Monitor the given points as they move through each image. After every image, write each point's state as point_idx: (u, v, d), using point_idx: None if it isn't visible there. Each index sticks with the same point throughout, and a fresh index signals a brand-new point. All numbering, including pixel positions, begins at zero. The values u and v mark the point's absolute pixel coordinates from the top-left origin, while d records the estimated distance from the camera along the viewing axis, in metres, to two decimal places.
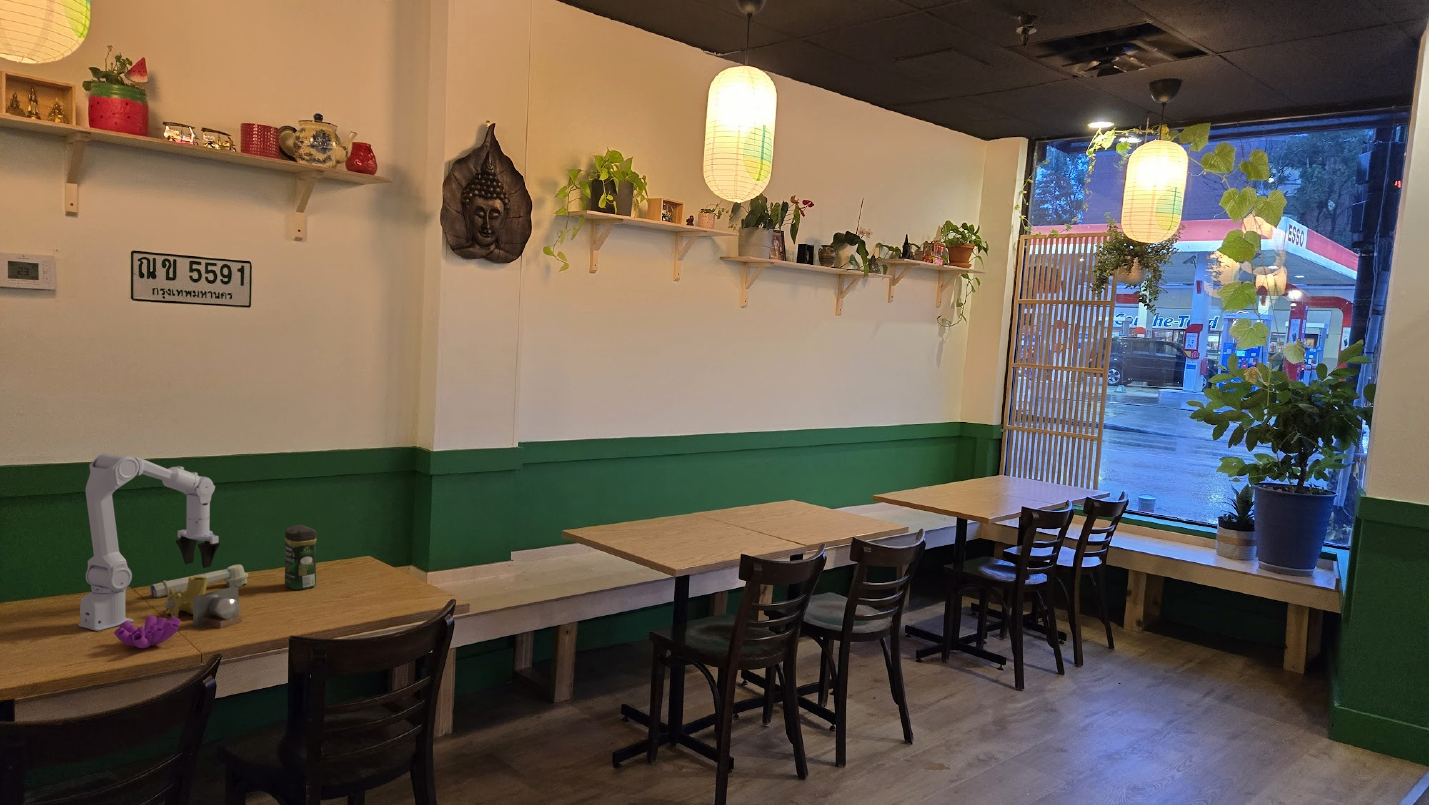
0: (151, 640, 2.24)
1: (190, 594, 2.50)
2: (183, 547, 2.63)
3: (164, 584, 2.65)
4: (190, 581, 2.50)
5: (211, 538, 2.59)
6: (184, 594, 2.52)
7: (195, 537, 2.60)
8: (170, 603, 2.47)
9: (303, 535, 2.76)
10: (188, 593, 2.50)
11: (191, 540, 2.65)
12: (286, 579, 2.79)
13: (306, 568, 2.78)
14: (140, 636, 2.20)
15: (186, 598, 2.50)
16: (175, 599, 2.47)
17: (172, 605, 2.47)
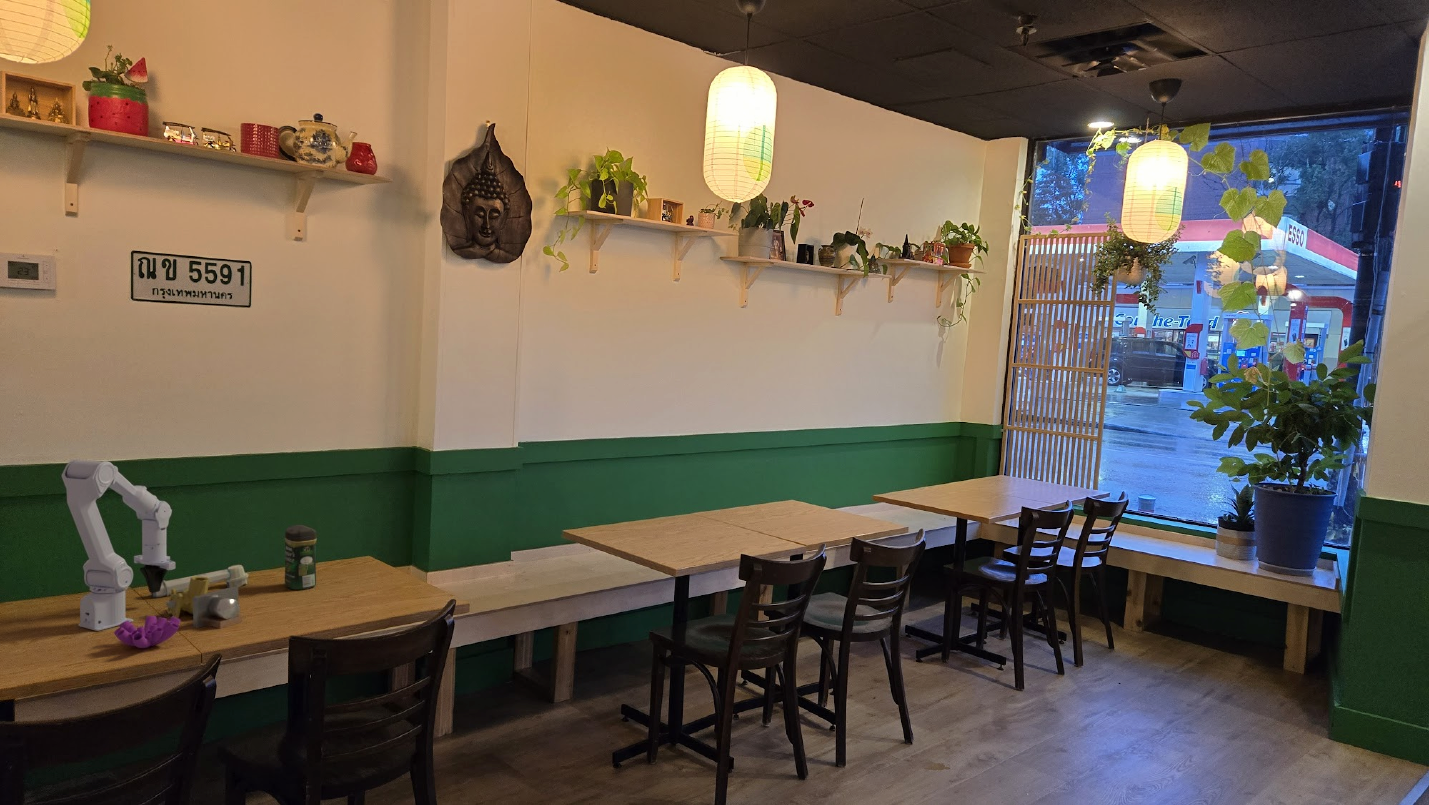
0: (151, 640, 2.24)
1: (191, 594, 2.50)
2: None
3: (163, 584, 2.65)
4: (191, 581, 2.50)
5: (167, 564, 2.51)
6: (186, 594, 2.52)
7: (151, 563, 2.52)
8: (171, 603, 2.47)
9: (303, 535, 2.76)
10: (190, 593, 2.50)
11: None
12: (286, 579, 2.79)
13: (306, 568, 2.78)
14: (140, 636, 2.20)
15: (187, 598, 2.50)
16: (176, 599, 2.47)
17: (173, 605, 2.47)
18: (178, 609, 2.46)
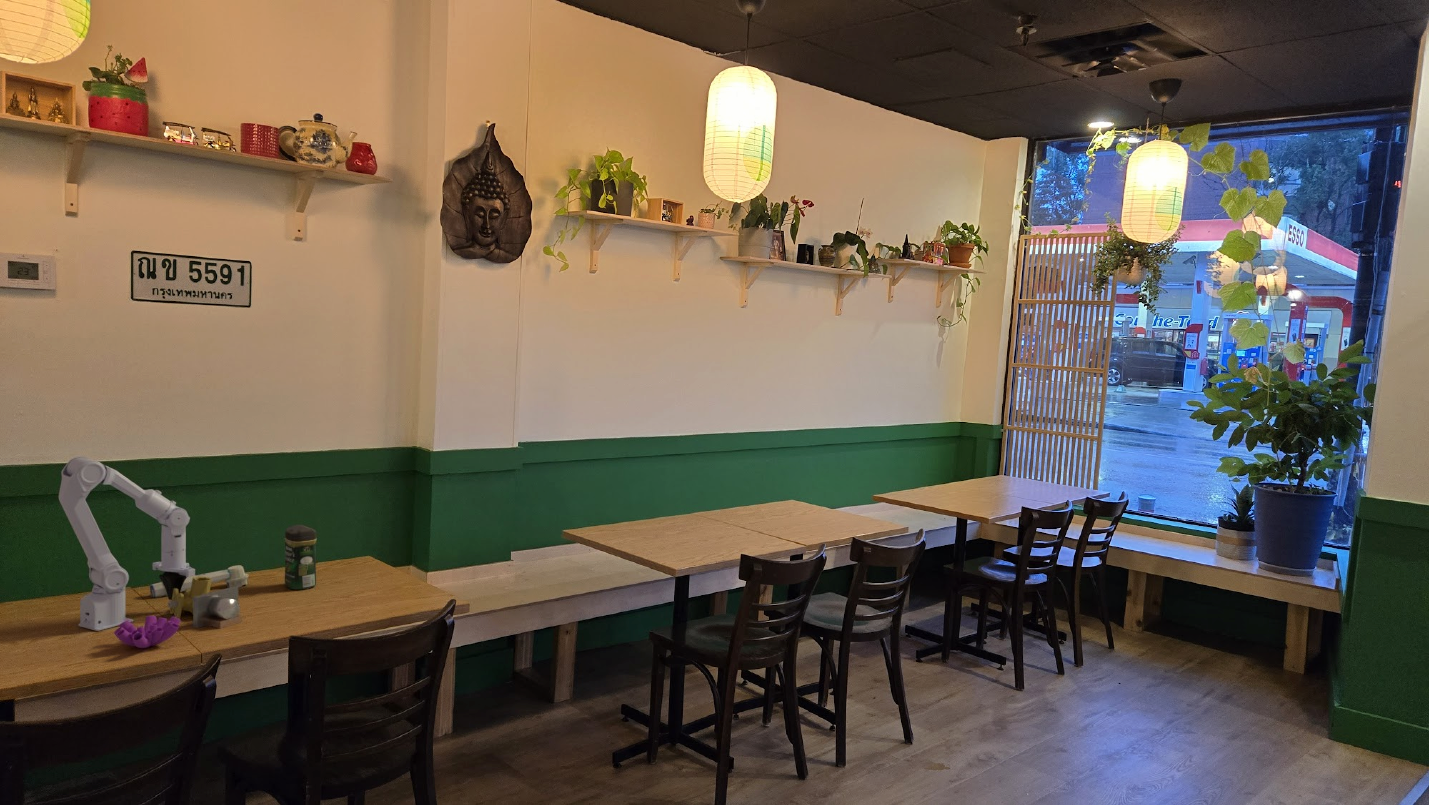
0: (151, 640, 2.24)
1: (193, 594, 2.50)
2: None
3: (163, 584, 2.65)
4: (193, 581, 2.50)
5: (187, 571, 2.48)
6: (188, 594, 2.52)
7: (170, 570, 2.49)
8: (173, 603, 2.47)
9: (303, 535, 2.76)
10: (191, 593, 2.50)
11: None
12: (286, 579, 2.79)
13: (306, 568, 2.78)
14: (140, 636, 2.20)
15: (189, 598, 2.49)
16: (178, 599, 2.47)
17: (175, 605, 2.47)
18: (179, 609, 2.46)
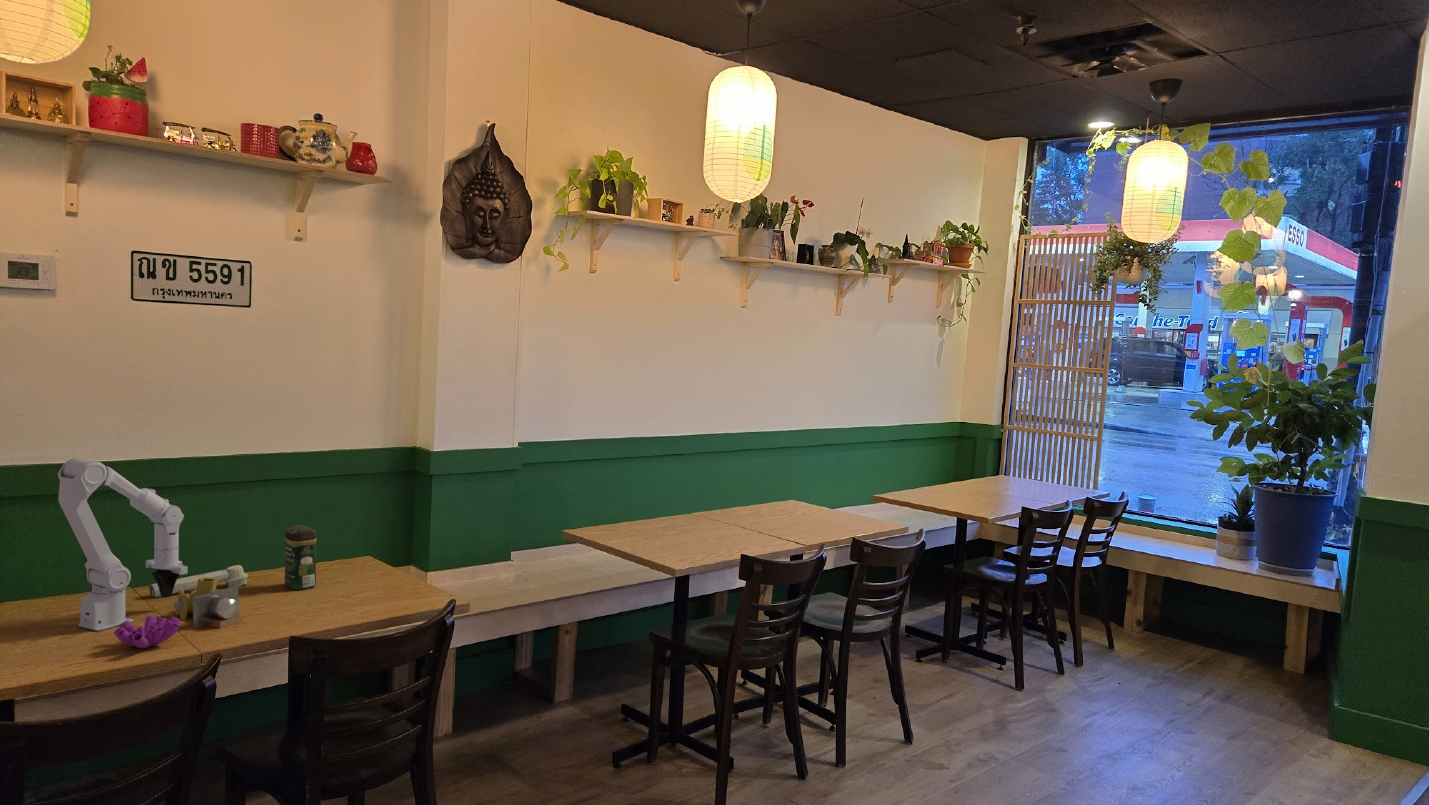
0: (151, 640, 2.24)
1: None
2: (159, 580, 2.52)
3: None
4: (199, 582, 2.50)
5: (180, 569, 2.49)
6: (194, 595, 2.51)
7: (163, 568, 2.50)
8: (179, 604, 2.46)
9: (303, 535, 2.76)
10: (197, 594, 2.49)
11: None
12: (286, 579, 2.79)
13: (306, 568, 2.78)
14: (140, 636, 2.20)
15: None
16: (184, 600, 2.47)
17: (181, 606, 2.47)
18: (185, 610, 2.45)
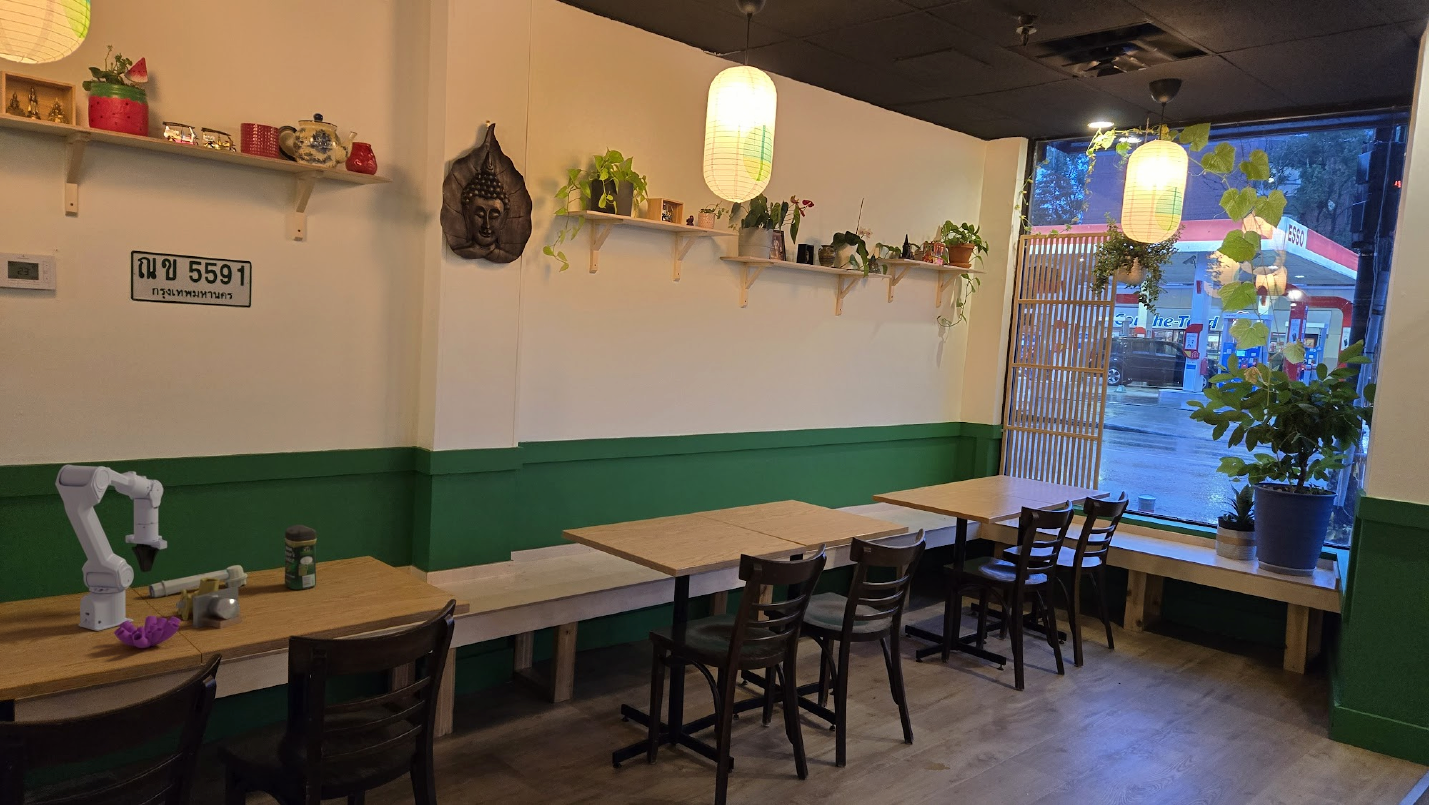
0: (151, 640, 2.24)
1: None
2: None
3: (162, 584, 2.65)
4: (201, 582, 2.50)
5: (159, 543, 2.51)
6: (196, 595, 2.51)
7: (142, 542, 2.51)
8: (181, 604, 2.46)
9: (303, 535, 2.76)
10: (199, 594, 2.49)
11: None
12: (286, 579, 2.79)
13: (306, 568, 2.78)
14: (140, 636, 2.20)
15: None
16: (186, 600, 2.47)
17: (183, 606, 2.47)
18: (187, 610, 2.45)
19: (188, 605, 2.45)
